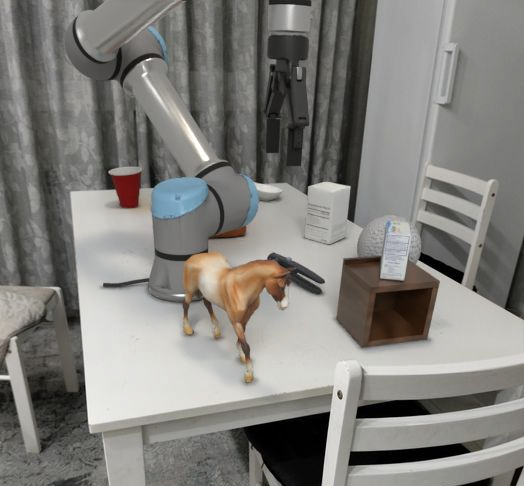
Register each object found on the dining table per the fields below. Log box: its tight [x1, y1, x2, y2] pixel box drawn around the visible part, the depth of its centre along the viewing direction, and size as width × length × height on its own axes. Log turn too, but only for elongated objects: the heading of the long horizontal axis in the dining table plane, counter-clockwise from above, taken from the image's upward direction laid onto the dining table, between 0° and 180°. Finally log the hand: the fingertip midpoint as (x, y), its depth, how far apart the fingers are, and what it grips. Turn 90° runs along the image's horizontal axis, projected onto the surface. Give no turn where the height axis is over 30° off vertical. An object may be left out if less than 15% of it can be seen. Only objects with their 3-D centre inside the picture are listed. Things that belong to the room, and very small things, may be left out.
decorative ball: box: [356, 214, 422, 265], centre depth 125 cm, size 15×15×15 cm
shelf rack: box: [335, 255, 441, 348], centre depth 101 cm, size 14×12×13 cm
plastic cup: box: [108, 166, 143, 209], centre depth 173 cm, size 11×11×12 cm
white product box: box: [304, 181, 352, 245], centre depth 150 cm, size 9×9×15 cm
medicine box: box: [380, 221, 412, 281], centre depth 96 cm, size 8×4×9 cm, turn 168°
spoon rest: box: [253, 181, 284, 202], centre depth 188 cm, size 24×12×7 cm, turn 94°
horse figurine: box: [181, 252, 296, 383], centre depth 90 cm, size 31×8×21 cm, turn 35°
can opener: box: [266, 252, 326, 295], centre depth 122 cm, size 18×7×6 cm, turn 40°
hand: (282, 159), depth 104 cm, fingers open, 13 cm apart
